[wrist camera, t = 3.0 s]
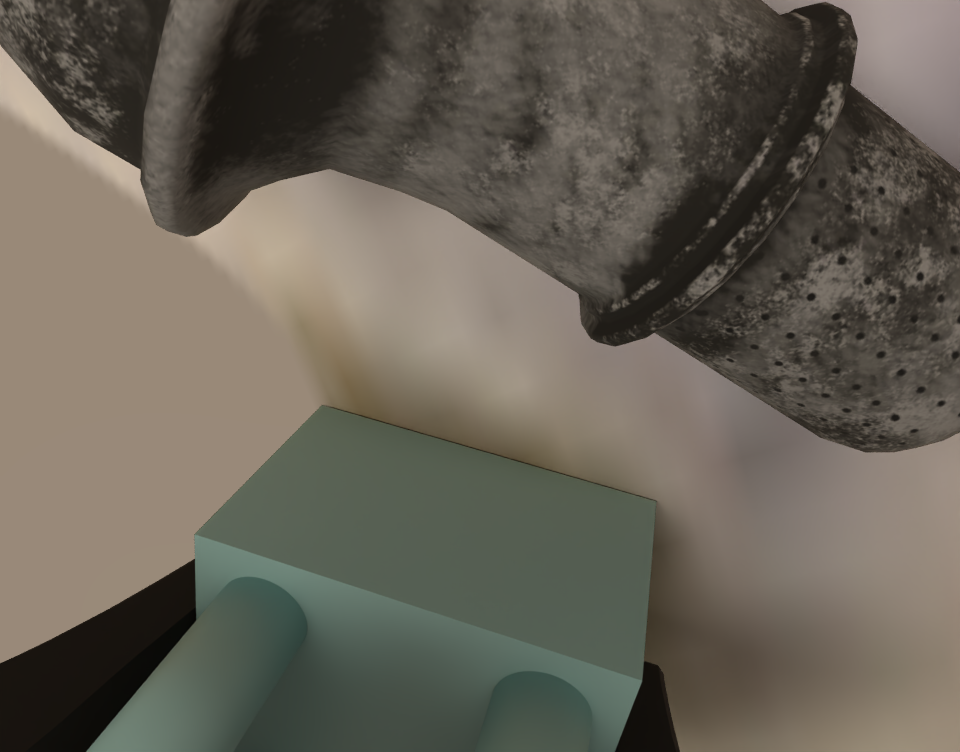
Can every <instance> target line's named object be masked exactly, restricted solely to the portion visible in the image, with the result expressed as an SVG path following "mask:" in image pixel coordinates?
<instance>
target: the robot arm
mask: <svg viewBox="0 0 960 752" xmlns="http://www.w3.org/2000/svg"><path fill="white" fill-rule="evenodd" d="M195 621H196V583H195V559H194V560H192V561H191V562H189V563H187V564H185V565H184V566H182V567H180V568H179V569H177V570H175V571H174V572H172V573H170V574H169V575H167V576H165V577H164V578H162V579H160V580H159V581H157V582H155V583H153V584H152V585H150V586H148V587H147V588H145V589H143V590H141V591H139V592H138V593H136V594H134V595H132V596H131V597H129V598H127V599H125V600H124V601H122V602H120V603H119V604H117V605H115V606H113V607H112V608H110V609H108V610H106V611H104V612H102V613H100V614H98V615H97V616H95V617H93V618H91V619H89V620H87V621H85V622H83V623H81V624H79V625H78V626H76V627H74V628H72V629H70V630H68V631H66V632H64V633H62V634H60V635H59V636H56V637H55V638H53V639H51V640H49V641H47V642H45V643H43V644H41V645H39V646H36V647H34V648H32V649H30V650H28V651H26V652H24V653H22V654H20V655H18V656H15V657H14V658H11V659H9V660H7V661H5V662H2V663H0V752H86V751H87V750H88V749H89V748H90V746H91V745H92V744H93V743H94V742H95V740H96V739H97V738H98V737H99V736H100V735H101V733H102V732H103V731H104V730H105V729H106V727H107V726H108V725H109V724H110V723H111V721H112V720H113V719H114V718H115V717H116V715H117V714H118V713H119V712H120V711H121V710H122V708H123V707H124V706H125V705H126V704H127V702H128V701H129V700H130V699H131V698H132V696H133V695H134V694H135V693H136V692H137V690H138V689H139V688H140V687H141V686H142V685H143V683H144V682H145V681H146V680H147V679H148V677H149V676H150V675H151V674H152V673H153V671H154V670H155V669H156V668H157V667H158V665H159V664H160V663H161V662H162V661H163V660H164V658H165V657H166V656H167V655H168V654H169V652H170V651H171V650H172V649H173V648H174V646H175V645H176V644H177V643H178V642H179V640H180V639H181V638H182V637H183V636H184V635H185V633H186V632H187V631H188V630H189V629H190V627H191V626H192V625H193V624H194V623H195ZM615 752H680V750H679V746H678V742H677V738H676V734H675V730H674V726H673V722H672V717H671V713H670V708H669V704H668V698H667V693H666V688H665V682H664V675H663V673H662V671H661V669H660V668H659V666H658V665H655V664H651V663H648V662H645V661H644V665H643V677H642V683H641V685H640V688H639V690H638V693H637V696H636V698H635V701H634V703H633V706H632V709H631V711H630V714H629V716H628V719H627V721H626V724H625V727H624V729H623V732H622V734H621V737H620V740H619V742H618V745H617V747H616V750H615Z"/></svg>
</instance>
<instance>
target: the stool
mask: <svg viewBox="0 0 960 752" xmlns="http://www.w3.org/2000/svg"><path fill="white" fill-rule="evenodd" d="M655 514H656V501H653V500H650V499H646V498H643V497H639V496H636V495H632V494H629V493H625V492H622V491H618V490H615V489H612V488H608V487H605V486H601V485H598V484H594V483H591V482H587V481H584V480H580V479H577V478H573V477H570V476H566V475H563V474H559V473H556V472H553V471H549V470H546V469H542V468H539V467H535V466H532V465H528V464H525V463H521V462H518V461H514V460H511V459H507V458H504V457H500V456H497V455H494V454H490V453H487V452H483V451H480V450H476V449H473V448H469V447H466V446H462V445H459V444H455V443H452V442H448V441H445V440H441V439H438V438H435V437H431V436H428V435H424V434H421V433H417V432H414V431H410V430H407V429H403V428H400V427H396V426H393V425H389V424H386V423H382V422H379V421H376V420H372V419H369V418H365V417H362V416H358V415H355V414H351V413H348V412H344V411H341V410H337V409H334V408H330V407H327V406H323V405H322V406H321V407H320V408H319V409H318V410H317V411H316V412H315V413H314V414H313V415H312V416H311V417H310V418H309V419H308V420H307V421H306V422H305V423H304V424H303V425H302V426H301V427H300V428H299V429H298V430H297V431H296V432H295V433H294V434H293V435H292V436H291V437H290V438H289V439H288V440H287V441H286V442H285V443H284V444H283V445H282V446H281V447H280V448H279V449H278V450H277V451H276V452H275V453H274V454H273V455H272V456H271V457H270V458H269V459H268V460H267V461H266V462H265V463H264V464H263V465H262V466H261V467H260V468H259V470H257V472H255V474H253V476H252V477H251V478H250V479H249V480H248V481H247V482H246V483H245V484H244V485H243V486H242V487H241V488H240V489H239V490H238V491H237V492H236V493H235V494H234V495H233V496H232V497H231V498H230V499H229V500H228V501H227V502H226V503H225V504H224V505H223V506H222V507H221V508H220V509H219V510H218V511H217V512H216V513H215V514H214V515H213V516H212V517H211V518H210V519H209V520H208V521H207V522H206V523H205V524H204V526H202V527H201V528H200V529H199V530H198V531H197V532H196V533H195V583H196V621H195V623H194V624H193V625H192V626H191V627H190V629H189V630H188V631H187V632H186V633H185V635H184V636H183V637H182V638H181V639H180V640H179V642H178V643H177V644H176V645H175V646H174V648H173V649H172V650H171V651H170V652H169V654H168V655H167V656H166V657H165V658H164V660H163V661H162V662H161V663H160V664H159V665H158V667H157V668H156V669H155V670H154V671H153V673H152V674H151V675H150V676H149V677H148V679H147V680H146V681H145V682H144V683H143V685H142V686H141V687H140V688H139V689H138V690H137V692H136V693H135V694H134V695H133V696H132V698H131V699H130V700H129V701H128V702H127V704H126V705H125V706H124V707H123V708H122V710H121V711H120V712H119V713H118V714H117V715H116V717H115V718H114V719H113V720H112V721H111V723H110V724H109V725H108V726H107V727H106V729H105V730H104V731H103V732H102V733H101V735H100V736H99V737H98V738H97V739H96V740H95V742H94V743H93V744H92V745H91V746H90V748H89V749H88V750H87V751H86V752H615V750H616V747H617V745H618V742H619V740H620V737H621V734H622V732H623V729H624V727H625V724H626V721H627V719H628V716H629V714H630V711H631V709H632V706H633V703H634V701H635V698H636V696H637V693H638V690H639V688H640V685H641V683H642V677H643V665H644V652H645V640H646V627H647V614H648V602H649V589H650V577H651V564H652V551H653V539H654V526H655Z"/></svg>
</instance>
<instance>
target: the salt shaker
mask: <svg viewBox="0 0 960 752" xmlns="http://www.w3.org/2000/svg"><path fill="white" fill-rule="evenodd" d="M0 45H1V46H2V48H3V49H4V50H5V51H6V52H7V53H8V54H9V56H10V57H11V58H12V59H13V60H14V61H15V63H16V64H17V65H18V66H19V67H20V68H21V70H22V71H23V72H24V73H25V74H26V75H27V77H28V78H29V79H30V80H31V81H32V82H33V84H34V85H35V86H36V87H37V88H38V89H39V91H40V92H41V93H42V94H43V95H44V96H45V98H46V99H47V100H48V101H49V102H50V103H51V105H52V106H53V107H54V108H55V109H56V110H57V112H58V113H59V114H60V115H61V116H62V117H63V119H64V120H65V121H66V122H67V123H68V124H69V126H70V127H71V128H72V129H73V130H74V131H75V132H77V133H78V134H80V135H82V136H84V137H85V138H87V139H89V140H91V141H92V142H94V143H96V144H97V145H99V146H101V147H103V148H104V149H106V150H108V151H110V152H111V153H113V154H115V155H116V156H118V157H120V158H122V159H123V160H125V161H127V162H129V163H130V164H132V165H134V166H135V167H137V168H139V169H141V179H140V180H141V184H142V187H143V190H144V193H145V196H146V199H147V202H148V205H149V208H150V211H151V214H152V216H153V219H154V221H155V223H156V225H158V226H159V227H161V228H163V229H165V230H167V231H169V232H172V233H175V234H179V235H182V236H185V237H188V236H196V235H198V234H200V233H202V232H204V231H206V230H207V229H209V228H211V227H213V226H214V225H216V224H218V223H220V222H221V221H222V220H223V219H224V218H225V217H226V216H227V215H228V214H229V213H230V212H231V211H232V210H233V209H234V208H235V207H236V206H237V205H238V204H239V203H240V202H241V201H242V200H243V199H244V198H245V197H246V196H247V195H248V193H249V192H250V191H251V190H254V189H257V188H260V187H262V186H265V185H268V184H271V183H274V182H277V181H280V180H284V179H288V178H292V177H297V176H301V175H305V174H309V173H313V172H318V171H322V170H326V169H332V170H335V171H338V172H341V173H344V174H347V175H351V176H354V177H357V178H360V179H363V180H366V181H369V182H373V183H376V184H379V185H382V186H385V187H388V188H392V189H395V190H398V191H401V192H403V193H406V194H408V195H411V196H413V197H415V198H418V199H420V200H423V201H425V202H427V203H430V204H432V205H435V206H437V207H439V208H442V209H444V210H447V211H448V212H450V213H451V214H453V215H454V216H456V217H458V218H459V219H461V220H462V221H464V222H466V223H467V224H469V225H470V226H472V227H474V228H475V229H477V230H478V231H480V232H481V233H483V234H485V235H486V236H488V237H489V238H491V239H493V240H494V241H496V242H497V243H499V244H501V245H502V246H504V247H505V248H507V249H508V250H510V251H512V252H513V253H515V254H516V255H518V256H520V257H521V258H523V259H524V260H526V261H528V262H529V263H531V264H532V265H534V266H535V267H537V268H539V269H540V270H542V271H543V272H545V273H547V274H548V275H550V276H551V277H553V278H555V279H556V280H558V281H559V282H561V283H563V284H564V285H566V286H567V287H569V288H570V289H572V290H574V291H575V292H577V293H578V294H579V299H580V316H581V323H582V326H583V327H584V329H585V330H586V332H587V333H588V335H589V336H590V338H591V339H593V340H595V341H596V342H599V343H603V344H607V345H611V346H619V345H622V344H626V343H629V342H633V341H636V340H640V339H643V338H646V337H648V336H650V335H651V334H653V333H656V334H658V335H659V336H661V337H662V338H664V339H666V340H667V341H669V342H670V343H672V344H674V345H675V346H677V347H678V348H680V349H681V350H683V351H685V352H686V353H688V354H689V355H691V356H692V357H694V358H696V359H697V360H699V361H700V362H702V363H704V364H705V365H707V366H708V367H710V368H711V369H713V370H715V371H716V372H718V373H719V374H721V375H722V376H724V377H726V378H727V379H729V380H730V381H732V382H734V383H735V384H737V385H738V386H740V387H741V388H743V389H745V390H746V391H748V392H749V393H751V394H753V395H754V396H756V397H757V398H759V399H760V400H762V401H764V402H765V403H767V404H768V405H770V406H771V407H773V408H775V409H776V410H778V411H779V412H781V413H783V414H784V415H786V416H787V417H789V418H790V419H792V420H794V421H795V422H797V423H798V424H800V425H801V426H803V427H805V428H806V429H808V430H809V431H811V432H813V433H814V434H816V435H817V436H819V437H820V438H824V439H827V440H830V441H833V442H836V443H839V444H842V445H845V446H848V447H851V448H854V449H857V450H860V451H863V452H897V451H902V450H907V449H912V448H917V447H920V446H924V445H928V444H932V443H935V442H939V441H943V440H945V439H947V438H949V437H951V436H953V435H955V434H957V433H959V432H960V172H959V171H958V170H956V169H955V168H954V167H953V166H951V165H950V164H949V163H948V162H946V161H945V160H944V159H943V158H941V157H940V156H939V155H938V154H936V153H935V152H934V151H932V150H931V149H930V148H929V147H927V146H926V145H925V144H924V143H922V142H921V141H920V140H919V139H917V138H916V137H915V136H914V135H912V134H911V133H910V132H909V131H907V130H906V129H905V128H904V127H902V126H901V125H900V124H899V123H897V122H896V121H895V120H894V119H892V118H891V117H890V116H889V115H887V114H886V113H885V112H883V111H882V110H881V109H880V108H878V107H877V106H876V105H875V104H873V103H872V102H871V101H870V100H868V99H867V98H866V97H865V96H863V95H862V94H861V93H860V92H858V91H857V90H856V89H855V88H853V87H852V86H851V85H850V84H851V80H852V74H853V67H854V61H855V55H856V49H857V35H856V32H855V29H854V26H853V22H852V19H851V16H850V15H849V14H848V13H847V12H845V11H844V10H843V9H841V8H838V7H836V6H834V5H831V4H829V3H827V2H823V3H818V4H814V5H810V6H805V7H801V8H797V9H794V10H793V11H791V12H789V13H786V14H782V15H779V14H778V13H776V12H775V11H774V10H773V9H771V8H770V7H769V6H768V5H766V4H765V3H764V2H763V1H761V0H0Z"/></svg>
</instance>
